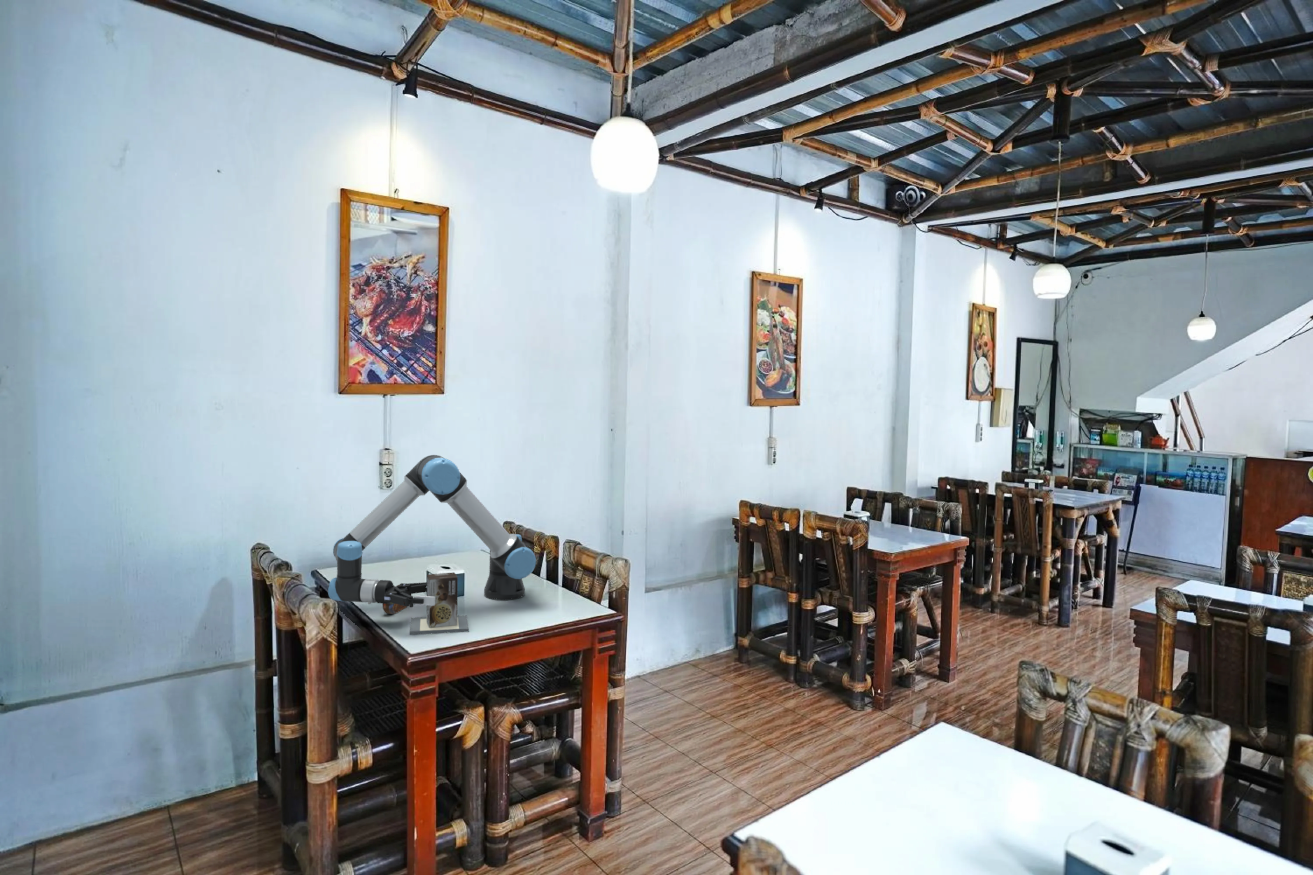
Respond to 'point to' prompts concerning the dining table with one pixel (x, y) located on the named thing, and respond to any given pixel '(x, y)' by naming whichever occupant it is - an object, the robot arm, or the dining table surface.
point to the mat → (421, 627)
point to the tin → (392, 607)
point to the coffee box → (442, 599)
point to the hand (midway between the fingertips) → (442, 595)
